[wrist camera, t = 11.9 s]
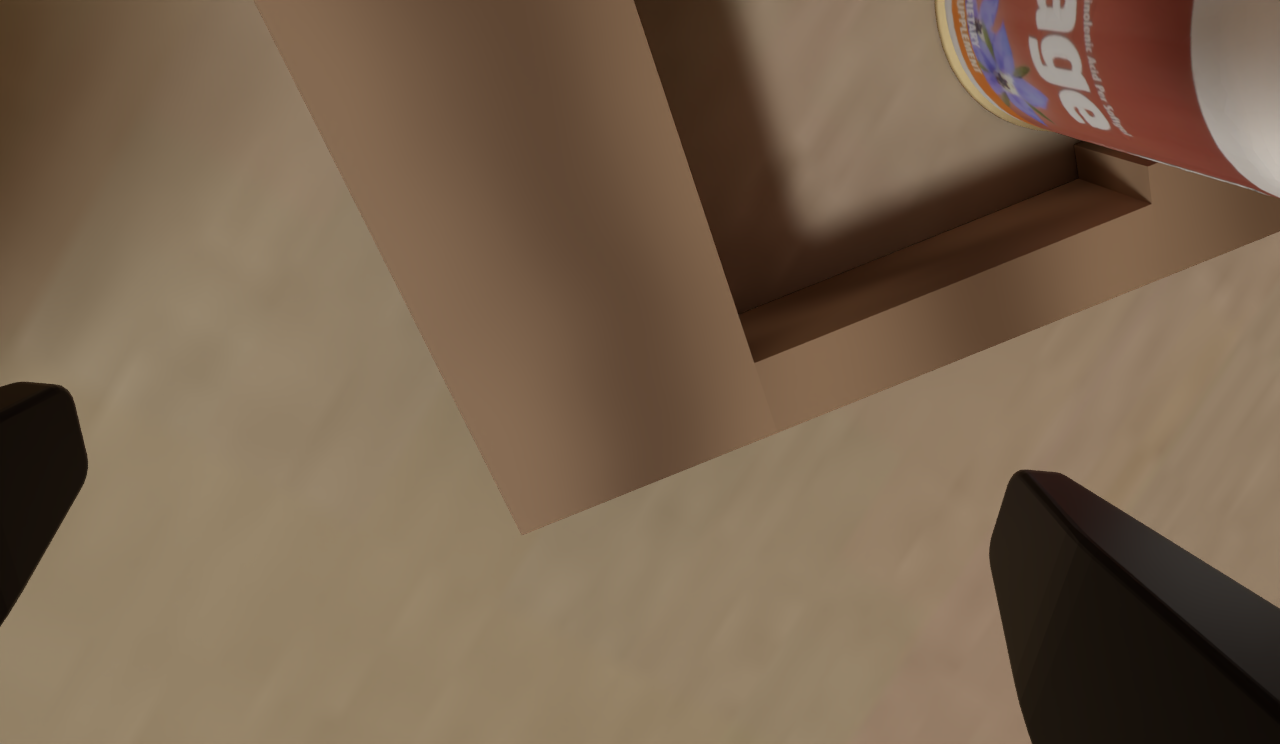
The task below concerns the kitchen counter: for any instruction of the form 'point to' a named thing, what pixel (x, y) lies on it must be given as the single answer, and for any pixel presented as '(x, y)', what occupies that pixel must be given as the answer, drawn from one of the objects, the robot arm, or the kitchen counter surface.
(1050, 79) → the pill bottle
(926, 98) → the kitchen counter surface
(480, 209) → the wooden rectangular frame
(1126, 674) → the robot arm
